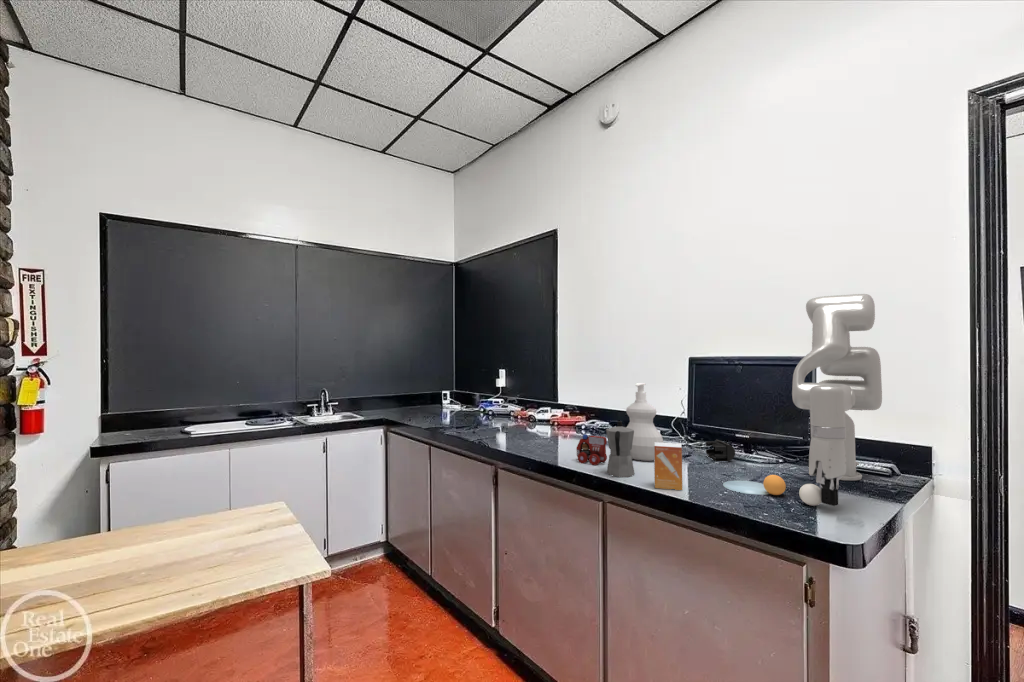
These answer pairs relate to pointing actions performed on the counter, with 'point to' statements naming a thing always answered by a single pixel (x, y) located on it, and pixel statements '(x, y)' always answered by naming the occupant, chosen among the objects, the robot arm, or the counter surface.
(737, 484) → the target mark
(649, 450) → the soap bottle
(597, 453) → the toy fire truck
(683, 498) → the counter surface
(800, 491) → the white egg
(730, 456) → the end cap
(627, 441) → the coffeepot
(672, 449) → the small box
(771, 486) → the object ball
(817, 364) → the robot arm
